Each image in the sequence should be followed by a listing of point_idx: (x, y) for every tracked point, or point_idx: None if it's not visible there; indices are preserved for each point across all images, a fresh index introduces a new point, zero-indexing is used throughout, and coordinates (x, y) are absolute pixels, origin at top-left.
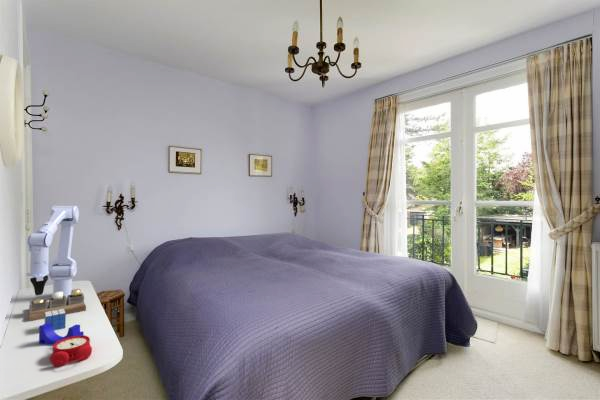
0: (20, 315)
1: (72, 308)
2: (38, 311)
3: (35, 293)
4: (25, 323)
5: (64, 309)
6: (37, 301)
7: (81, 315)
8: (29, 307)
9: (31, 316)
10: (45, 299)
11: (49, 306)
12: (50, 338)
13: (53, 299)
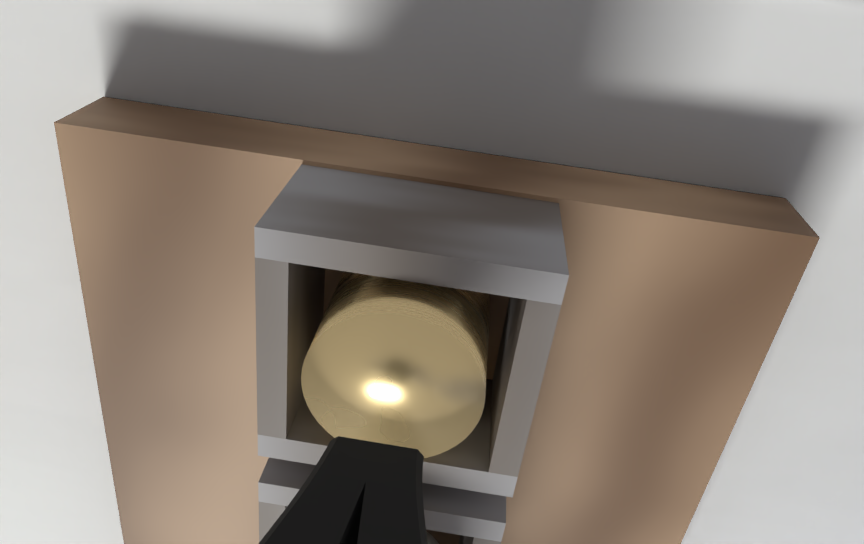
0: (533, 36)
1: (123, 539)
2: (242, 261)
3: (312, 473)
4: (27, 35)
5: (124, 484)
6: (309, 359)
7: (17, 516)
8: (638, 207)
9: (64, 142)
10: (450, 468)
11: None
12: None
13: None
